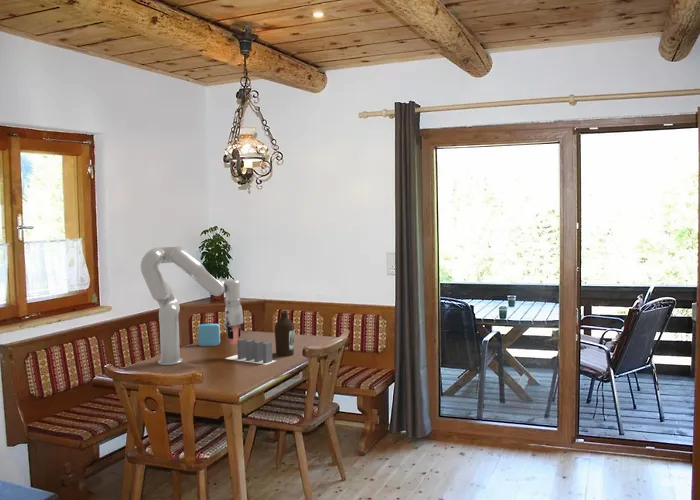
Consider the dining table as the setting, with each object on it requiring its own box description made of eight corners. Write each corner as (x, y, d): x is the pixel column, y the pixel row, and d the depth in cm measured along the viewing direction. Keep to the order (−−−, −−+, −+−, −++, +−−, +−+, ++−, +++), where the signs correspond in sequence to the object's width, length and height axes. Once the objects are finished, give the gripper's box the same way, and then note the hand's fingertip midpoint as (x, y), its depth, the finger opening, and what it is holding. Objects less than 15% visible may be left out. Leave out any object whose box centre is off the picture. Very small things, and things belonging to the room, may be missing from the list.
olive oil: (272, 358, 344) (271, 311, 342) (279, 353, 355) (278, 308, 353) (291, 359, 342) (290, 312, 340) (297, 354, 352) (296, 309, 350)
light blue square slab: (220, 343, 380) (219, 323, 379) (219, 345, 376) (219, 325, 375) (199, 344, 379) (198, 324, 378) (198, 346, 375) (197, 325, 374)
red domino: (230, 344, 340) (229, 325, 340) (236, 342, 345) (235, 323, 344) (233, 344, 339) (232, 325, 339) (239, 342, 344) (238, 324, 343)
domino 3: (254, 361, 333) (254, 342, 332) (260, 359, 337) (260, 340, 336) (257, 362, 332) (257, 342, 331) (263, 360, 336) (263, 340, 335)
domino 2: (246, 360, 336) (245, 341, 335) (252, 358, 340) (251, 339, 339) (249, 360, 335) (248, 341, 334) (255, 358, 339) (254, 339, 338)
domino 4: (263, 362, 330) (262, 343, 329) (269, 360, 334) (268, 341, 334) (266, 363, 329) (265, 344, 328) (272, 361, 333) (271, 342, 333)
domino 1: (237, 359, 338) (237, 340, 337) (243, 357, 343) (243, 338, 342) (240, 359, 337) (240, 340, 336) (246, 357, 342) (246, 338, 341)
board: (224, 360, 340) (224, 358, 340) (235, 357, 348) (235, 354, 348) (266, 367, 327) (266, 364, 327) (276, 363, 335) (276, 360, 334)
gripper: (227, 306, 331) (229, 341, 333) (248, 301, 346) (250, 335, 347) (216, 305, 335) (217, 340, 336) (237, 300, 350) (239, 333, 351)
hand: (234, 337), depth 342 cm, fingers closed on red domino, 4 cm apart
